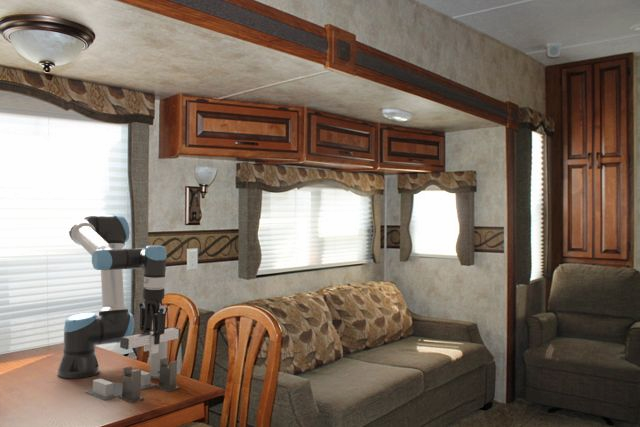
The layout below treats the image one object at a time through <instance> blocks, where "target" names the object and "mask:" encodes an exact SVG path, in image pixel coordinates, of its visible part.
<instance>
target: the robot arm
mask: <svg viewBox="0 0 640 427" xmlns="http://www.w3.org/2000/svg"><path fill="white" fill-rule="evenodd" d="M71 222H72V223H70V226H69V228H68V234H69V237H70V239H71V240H72V241H73V242H74V243H75V244H77V245H79V246H82V248H83V249H84V250H86V251H87V253H88V254H89V255H91V264H92V267H93V269H94V270H96V271H100V280H101V302H102V307H101V309H99V311H98V315H97V313H95V312H81V313H77V314H73V315H69V317H67V318H66V319H65V320H64V328H63V353H62V357H61V360H60V363H59V365H58V368H57V376H58V377H60V378H64V379H82V378H89V377H92V376H95V375H97V374H98V373H99V372H100V365H99V362H98V359H97V355H96V346H100V345H108V344H116V343H117V344H118V343H120V341H121V337H126V336H131V335H133V333H134V331H135V318H134V315H133V314H132V312H129V308H128V307H127V306H126V304H125V297H124V296H125V295H124V277H123V275H124V274H123V270H135V269H136V270H138V269H139V270H143V290H142V298H143V300H144V302H143V303H142V302H141V303H140V302H139V305H138V306H139V330H140V331H142V332H143V333H147V332H152V329H153V335H152V342H151V344H150V345H145V346H143V352H149V351H150V355H151V354H154V353H158V350H159V343H160V335H162V334H164V331H165V327H166V318H167V313H168V307H164V305H163V300H164V298H165V287H166V271H167V270H166V269H167V268H166V267H167V258H168V257H167V247H166V246H164V245H160V244H159V245H157V244H155V245H154V244H153V245H152V244H151V245H150V244H149V245H147V246H146V247H136V248H125V246H126V244H125V243H127V242H128V241H129V239H130V225H129V223H128V220H127V219H126V218H125V217H124V216H122V215H117V214H84V215H81V216H79V217H77V218H75V219H74V220H73V221H71Z"/></svg>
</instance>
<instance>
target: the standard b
mask: <svg viewBox="0 0 640 427" xmlns="http://www.w3.org/2000/svg"><path fill="white" fill-rule="evenodd" d="M177 372H178V360H172V361H169V357H167V358H164V359H160V375H159V379H158V382H159V383H158V384H157V385H156V386H154V387H155V388H157V389H160V390H161V391H166V392H168V393H169V392H173V391H177V390H179V389H181V387H180V386H178V385H177V374H178V373H177Z"/></svg>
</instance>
